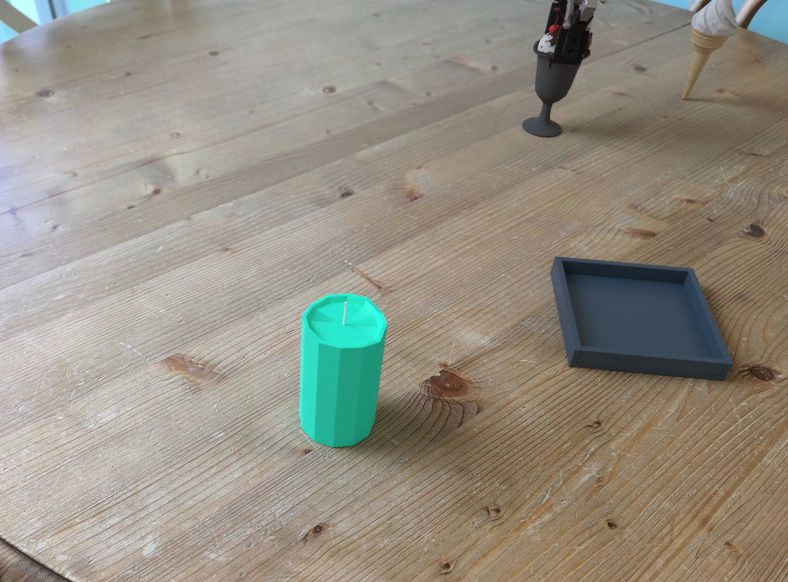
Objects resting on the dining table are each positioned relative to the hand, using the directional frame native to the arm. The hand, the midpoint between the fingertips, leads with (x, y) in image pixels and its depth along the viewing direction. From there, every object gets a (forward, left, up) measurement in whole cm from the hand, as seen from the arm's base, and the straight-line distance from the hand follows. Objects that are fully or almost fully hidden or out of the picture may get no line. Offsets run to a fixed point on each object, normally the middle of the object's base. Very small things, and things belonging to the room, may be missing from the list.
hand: (561, 48), depth 89 cm
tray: (-4, +37, -10) cm, 39 cm away
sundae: (0, 0, -10) cm, 10 cm away
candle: (+22, +52, -10) cm, 57 cm away
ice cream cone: (-21, -12, -10) cm, 26 cm away
